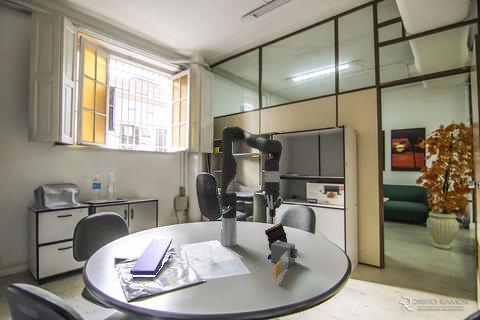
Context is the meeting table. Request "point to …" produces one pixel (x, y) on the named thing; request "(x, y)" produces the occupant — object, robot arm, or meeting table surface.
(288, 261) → the orange and gray panel
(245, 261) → the meeting table surface
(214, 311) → the meeting table surface
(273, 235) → the black ribbed block
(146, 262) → the purple slab
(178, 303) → the meeting table surface
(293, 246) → the grey box with knob
